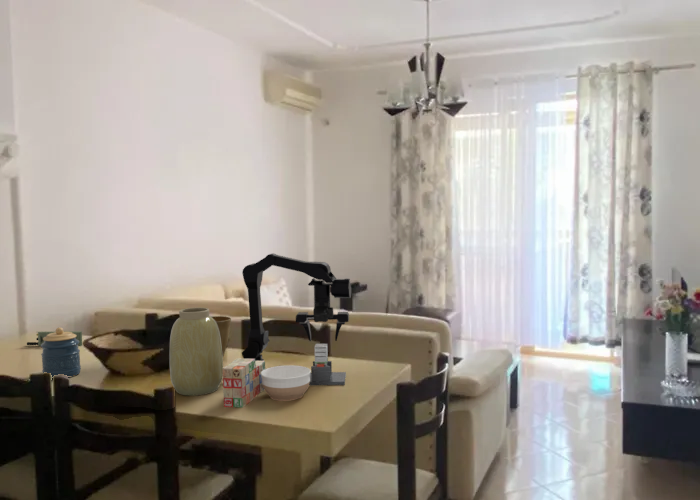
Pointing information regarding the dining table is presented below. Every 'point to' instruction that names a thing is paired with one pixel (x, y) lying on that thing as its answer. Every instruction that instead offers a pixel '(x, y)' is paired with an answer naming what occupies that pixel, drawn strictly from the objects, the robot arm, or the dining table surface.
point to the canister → (61, 353)
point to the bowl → (286, 382)
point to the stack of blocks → (242, 381)
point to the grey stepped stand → (326, 375)
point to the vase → (195, 353)
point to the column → (321, 354)
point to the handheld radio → (44, 334)
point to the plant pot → (223, 330)
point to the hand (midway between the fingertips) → (323, 340)
